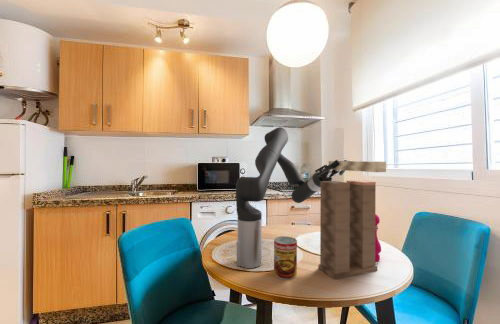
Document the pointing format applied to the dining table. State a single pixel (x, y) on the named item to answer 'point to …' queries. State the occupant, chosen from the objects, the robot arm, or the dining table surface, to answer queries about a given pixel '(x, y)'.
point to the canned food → (285, 257)
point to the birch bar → (361, 166)
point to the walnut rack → (347, 228)
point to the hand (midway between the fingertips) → (342, 162)
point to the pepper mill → (377, 244)
